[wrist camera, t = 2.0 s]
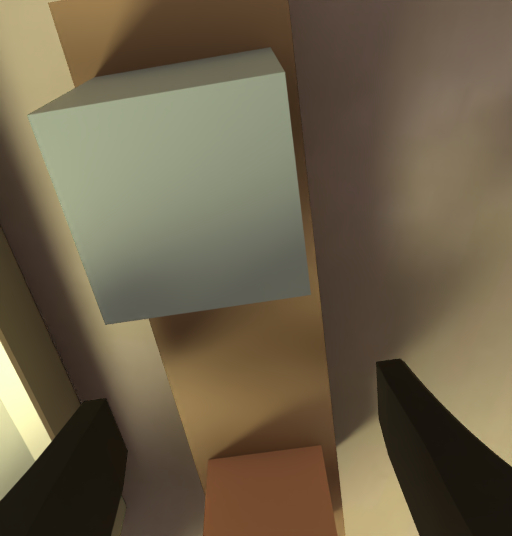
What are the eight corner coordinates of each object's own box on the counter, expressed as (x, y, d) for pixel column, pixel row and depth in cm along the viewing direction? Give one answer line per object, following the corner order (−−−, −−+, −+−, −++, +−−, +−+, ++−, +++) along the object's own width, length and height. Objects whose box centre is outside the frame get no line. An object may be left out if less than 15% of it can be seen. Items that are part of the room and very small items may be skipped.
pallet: (328, 448, 24) (345, 538, 20) (226, 461, 24) (223, 553, 20) (271, -30, 14) (284, -40, 10) (101, 0, 14) (48, 2, 10)
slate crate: (291, 213, 13) (310, 294, 9) (141, 235, 13) (104, 324, 9) (270, 47, 11) (285, 72, 7) (94, 77, 11) (27, 115, 8)
